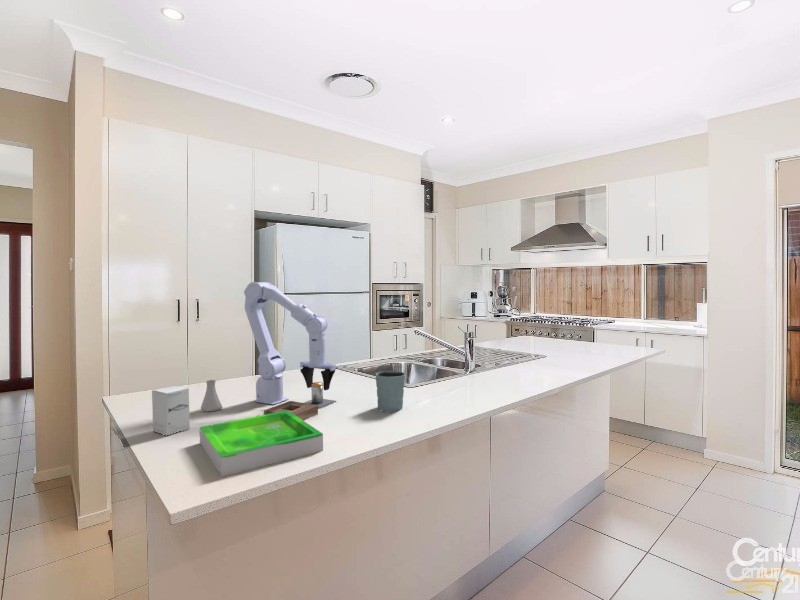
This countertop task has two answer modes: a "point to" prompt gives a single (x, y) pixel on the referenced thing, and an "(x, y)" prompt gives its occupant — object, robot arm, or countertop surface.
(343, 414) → the countertop surface
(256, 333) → the robot arm
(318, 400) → the glass jar
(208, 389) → the flask
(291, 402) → the housing
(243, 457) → the tray
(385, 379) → the grey cup
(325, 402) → the mat
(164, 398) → the supplement box
